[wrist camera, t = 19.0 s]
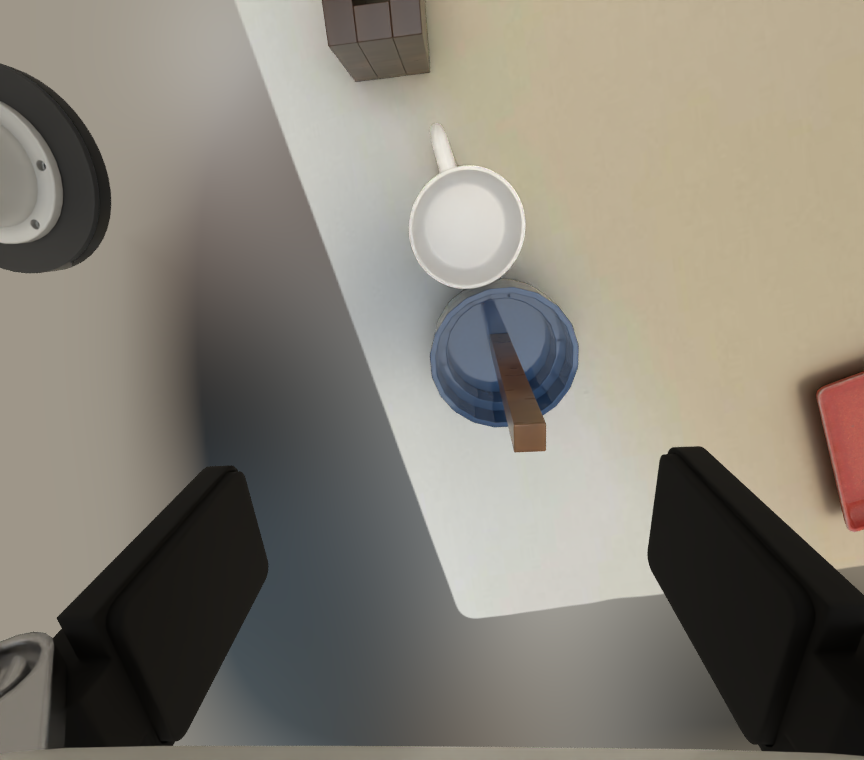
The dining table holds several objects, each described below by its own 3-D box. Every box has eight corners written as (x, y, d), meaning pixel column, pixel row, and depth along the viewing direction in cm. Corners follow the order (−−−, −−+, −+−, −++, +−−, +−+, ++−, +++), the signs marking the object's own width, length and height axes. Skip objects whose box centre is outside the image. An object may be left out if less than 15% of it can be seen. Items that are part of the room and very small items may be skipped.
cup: (437, 284, 42) (430, 303, 32) (393, 155, 38) (371, 133, 28) (520, 256, 40) (538, 267, 31) (483, 118, 36) (491, 83, 27)
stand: (355, 82, 36) (328, 46, 29) (343, -13, 34) (310, -79, 26) (430, 72, 36) (422, 33, 28) (423, -25, 33) (412, -95, 26)
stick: (490, 351, 43) (514, 452, 24) (489, 334, 43) (513, 424, 24) (508, 350, 43) (546, 451, 24) (508, 333, 42) (546, 423, 24)
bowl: (439, 404, 46) (436, 430, 41) (428, 283, 42) (424, 293, 36) (561, 397, 45) (576, 423, 40) (564, 272, 41) (580, 281, 35)
